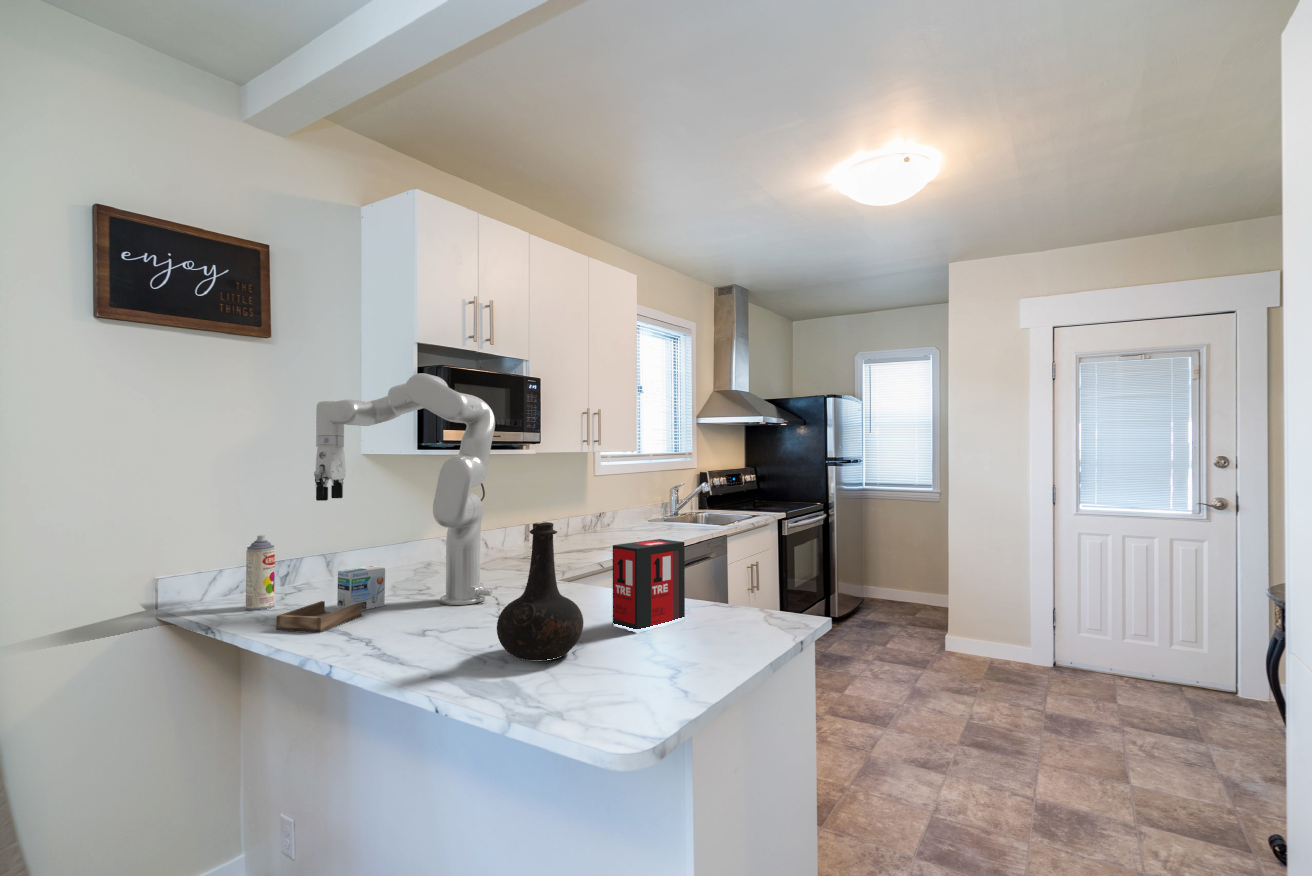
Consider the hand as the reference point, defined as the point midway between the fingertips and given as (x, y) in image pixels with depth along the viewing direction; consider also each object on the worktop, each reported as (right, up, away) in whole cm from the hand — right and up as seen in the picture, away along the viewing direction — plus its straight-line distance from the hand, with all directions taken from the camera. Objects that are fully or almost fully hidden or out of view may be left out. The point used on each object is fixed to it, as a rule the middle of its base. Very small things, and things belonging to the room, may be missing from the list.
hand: (329, 499), depth 194 cm
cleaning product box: (+96, -28, -32) cm, 105 cm away
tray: (+13, -28, -31) cm, 44 cm away
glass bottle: (+73, -28, -57) cm, 97 cm away
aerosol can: (-12, -29, -14) cm, 35 cm away
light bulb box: (+16, -29, -14) cm, 36 cm away
